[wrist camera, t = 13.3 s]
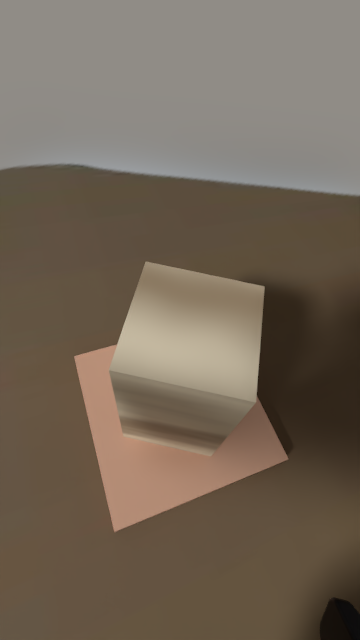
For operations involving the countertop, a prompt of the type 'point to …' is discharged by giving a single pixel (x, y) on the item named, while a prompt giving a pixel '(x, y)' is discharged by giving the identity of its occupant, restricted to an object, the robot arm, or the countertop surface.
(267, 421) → the terracotta tile
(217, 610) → the countertop surface
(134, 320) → the birch block
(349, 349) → the countertop surface
